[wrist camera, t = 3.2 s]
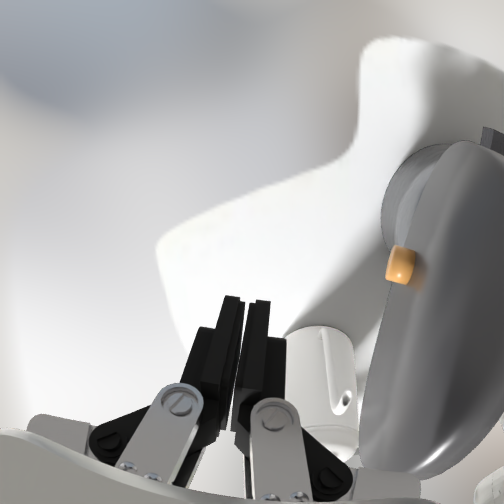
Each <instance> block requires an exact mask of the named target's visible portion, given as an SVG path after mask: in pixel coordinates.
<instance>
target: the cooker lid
mask: <svg viewBox="0 0 504 504" xmlns="http://www.w3.org/2000/svg"><path fill="white" fill-rule="evenodd" d="M385 278H386V280H389V281H393V282H392V286H391V290H390V293H389V296H388V300H387V304H386V307H385V311H384V314H383V318H382V322H381V325H380V329H379V333H378V337H377V341H376V345H375V349H374V353H373V357H372V361H371V365H370V369H369V374H368V378H367V383H366V388H365V393H364V398H363V403H362V410H361V416H360V425H359V453H360V459H361V462H362V464H363V466H364V468H369V469H377V470H385V471H394V472H405V473H410V474H413V475H415V476H416V477H417V478H418V480H419V481H420V480H426V479H429V478H432V477H434V476H436V475H439V474H441V473H443V472H445V471H446V470H448V469H450V468H451V467H453V466H454V465H456V464H457V463H459V462H460V461H461V460H462V459H463V458H465V456H467V455H468V454H469V453H470V452H471V451H472V450H473V449H474V448H476V446H478V445H479V444H480V442H481V441H482V440H483V439H484V438H485V437H486V435H487V434H488V433H489V432H490V430H491V429H492V428H493V427H494V425H495V424H496V423H497V421H498V420H499V419H500V417H501V416H502V414H503V412H504V156H503V155H501V154H499V153H497V152H495V151H493V150H490V149H488V148H486V147H483V146H481V145H478V144H476V143H473V142H471V141H459V142H456V143H454V144H453V145H452V146H450V147H449V148H448V149H447V150H446V151H445V152H444V154H443V155H442V156H441V158H440V159H439V161H438V162H437V164H436V166H435V167H434V169H433V171H432V173H431V175H430V177H429V179H428V181H427V183H426V186H425V188H424V190H423V193H422V195H421V198H420V200H419V203H418V205H417V208H416V211H415V214H414V216H413V219H412V222H411V225H410V228H409V231H408V234H407V237H406V240H405V243H404V246H403V247H401V246H398V245H394V246H393V248H392V251H391V254H390V257H389V260H388V264H387V269H386V276H385Z"/></svg>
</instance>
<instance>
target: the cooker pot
mask: <svg viewBox="0 0 504 504" xmlns="http://www.w3.org/2000/svg"><path fill="white" fill-rule="evenodd" d="M480 145H481V146H483V147H486V148H488V149H490V150H493V151H495V152H497V153H499V154H501V155H503V156H504V134H502V133H500V132H498V131H496V130H494V129H491V128H487V127H483V132H482V138H481V144H480ZM450 146H452V145H450V144H437V145H432V146H429V147H426V148H424V149H421V150H420V151H418V152H416V153H414V154H413V155H412V156H411V157H409V158H408V159H407V160H406V161H405V162H404V163H403V164H402V165H401V166H400V167H399V169H398V170H397V171H396V173H395V174H394V176H393V177H392V179H391V181H390V183H389V185H388V187H387V190H386V192H385V196H384V199H383V204H382V209H381V228H382V233H383V237H384V240H385V244H386V246H387V248H388V250H389V251H390V253H391V251H392V248H393V246H394V245H398V246H401V247H403V246H404V243H405V240H406V237H407V234H408V231H409V228H410V225H411V222H412V219H413V216H414V214H415V211H416V208H417V205H418V203H419V200H420V198H421V195H422V193H423V190H424V188H425V186H426V183H427V181H428V179H429V177H430V175H431V173H432V171H433V169H434V167H435V166H436V164H437V162H438V161H439V159H440V158H441V156H442V155H443V154H444V152H445V151H446V150H447V149H448V148H449V147H450Z"/></svg>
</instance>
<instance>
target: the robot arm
mask: <svg viewBox="0 0 504 504" xmlns="http://www.w3.org/2000/svg"><path fill="white" fill-rule="evenodd" d="M270 303H271V301H263V300H256V303H250V304H249V310H248V315H247V321H246V326H245V332H244V337H243V342H242V348H241V339H242V330H243V320H244V310H245V302H242V301H240V297H234V296H227V295H225V298H224V301H223V304H222V308H221V311H220V314H219V318H218V321H217V324H216V328H215V329H213V328H207V327H201V326H200V327H199V329H198V332H197V334H196V337H195V340H194V343H193V346H192V348H191V351H190V354H189V357H188V360H187V363H186V366H185V368H184V372H183V374H182V377H181V380H180V383H174V384H170V385H167V386H166V387H164V388H162V390H161V391H160V392H159V393H158V395H157V396H156V398H155V399H154V401H153V403H152V405H149V406H147V407H144V408H142V409H139V410H137V411H135V412H132V413H130V414H127V415H124V416H122V417H119V418H117V419H114V420H112V421H109V422H106V423H103V424H101V425H99V426H92V425H90V423H86V422H80V421H75V420H70V419H64V418H60V417H55V416H51V415H46V414H39V415H36V416H34V417H33V418H32V419H31V420H30V422H29V424H28V427H27V430H26V431H25V430H20V429H14V428H0V504H440V503H437V502H434V501H431V500H426V499H420V493H421V484H420V481H419V480H418V478H417V477H416V476H415V475H413V474H410V473H405V472H394V471H385V470H377V469H369V468H362V467H359V468H358V469H355V468H350V467H348V466H347V465H346V464H345V463H344V462H342V461H341V460H340V459H339V458H337V457H336V456H335V455H334V454H333V453H331V452H330V451H329V450H328V449H327V448H326V447H324V446H323V445H322V444H321V443H320V442H318V441H317V440H316V439H315V438H314V437H313V436H312V435H310V434H309V433H308V432H307V431H306V430H305V429H304V428H303V427H301V423H300V417H299V414H298V411H297V409H296V408H295V407H294V406H293V404H291V403H290V402H288V401H286V400H285V383H286V352H287V340H286V339H284V338H276V337H268V326H269V315H270ZM240 349H241V353H240ZM239 357H240V359H239ZM238 363H239V364H238ZM237 368H238V370H237ZM236 373H237V375H236ZM235 379H236V381H235ZM234 384H235V387H234ZM233 389H234V397H233V408H232V420H231V430H230V431H233V432H236V435H235V443H234V444H235V445H236V446H237V448H238V449H240V451H241V452H242V453H243V474H244V498H237V497H230V496H223V495H217V494H211V493H206V492H200V491H196V490H191V489H188V488H189V486H190V484H191V482H192V479H193V477H194V475H195V472H196V470H197V468H198V466H199V463H200V461H201V459H202V456H203V454H204V452H205V449H206V446H208V445H210V444H211V443H213V442H215V441H216V437H218V436H219V432H220V430H226V426H227V421H228V416H229V411H230V405H231V400H232V395H233ZM499 421H500V423H501V426H502V428H503V431H504V412H503V414H502V416H501V417H500V419H499ZM473 503H474V504H504V465H503V466H502V467H500V468H499V469H497V470H495V471H494V472H492V473H491V474H489V475H488V476H486V477H485V478H484V479H483V480H481V481H480V482H479V484H478V485H477V487H476V489H475V492H474V497H473Z"/></svg>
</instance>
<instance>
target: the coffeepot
mask: <svg viewBox="0 0 504 504" xmlns="http://www.w3.org/2000/svg"><path fill="white" fill-rule="evenodd" d="M284 339H286V340H287V352H286V383H285V400H286V401H288V402H290V403H291V404H293V406H294V407H295V408H296V409H297V411H298V414H299V417H300V423H301V427H303V428H304V429H305V430H306V431H307V432H308V433H309V434H310V435H312V436H313V437H314V438H315V439H316V440H317V441H318V442H320V443H321V444H322V445H323V446H324V447H326V448H327V449H328V450H329V451H330V452H331V453H333V454H334V455H335V456H336V457H337V458H339V459H340V460H341V461H342V462H345V461H346V460H348V459H349V458H351V457H352V456H353V455H354V453H355V451H356V449H357V447H358V446H359V424H358V401H357V385H356V371H355V359H354V349H353V345H352V342H351V340H350V339H349V338H348V337H347V336H346V335H345V334H344V333H343V332H341V331H339V330H337V329H335V328H331V327H327V326H309V327H305V328H301V329H298V330H296V331H294V332H292V333H290V334H289V335H288V336H286V337H285V338H284Z"/></svg>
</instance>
